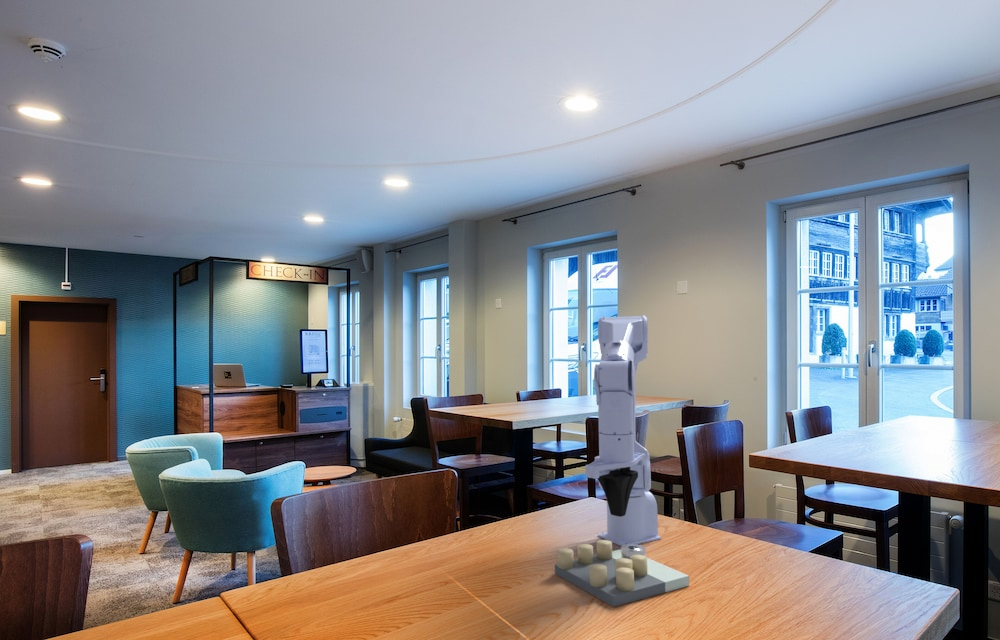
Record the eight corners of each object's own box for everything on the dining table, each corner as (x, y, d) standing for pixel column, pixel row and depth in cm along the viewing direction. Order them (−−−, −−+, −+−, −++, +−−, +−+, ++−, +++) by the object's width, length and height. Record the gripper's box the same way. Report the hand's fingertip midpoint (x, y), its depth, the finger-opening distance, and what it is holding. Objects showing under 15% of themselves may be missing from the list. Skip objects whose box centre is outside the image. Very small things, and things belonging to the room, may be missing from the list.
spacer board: (625, 556, 108) (624, 534, 108) (689, 585, 95) (688, 559, 95) (553, 573, 101) (553, 549, 101) (612, 607, 88) (611, 579, 88)
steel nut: (632, 554, 105) (631, 541, 105) (650, 560, 102) (650, 547, 102) (616, 559, 103) (615, 546, 103) (634, 566, 100) (634, 553, 100)
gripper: (620, 425, 110) (622, 502, 109) (569, 435, 99) (571, 519, 99) (655, 429, 105) (657, 509, 104) (605, 439, 94) (607, 528, 94)
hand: (618, 515), depth 101 cm, fingers closed
